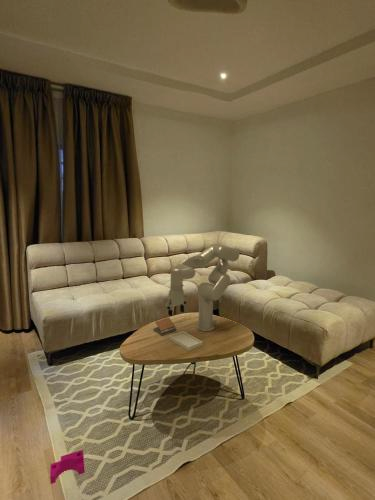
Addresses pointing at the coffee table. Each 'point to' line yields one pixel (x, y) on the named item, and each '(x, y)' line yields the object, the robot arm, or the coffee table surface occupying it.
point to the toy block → (67, 465)
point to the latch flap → (165, 324)
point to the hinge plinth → (164, 331)
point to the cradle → (185, 340)
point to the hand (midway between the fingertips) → (176, 313)
